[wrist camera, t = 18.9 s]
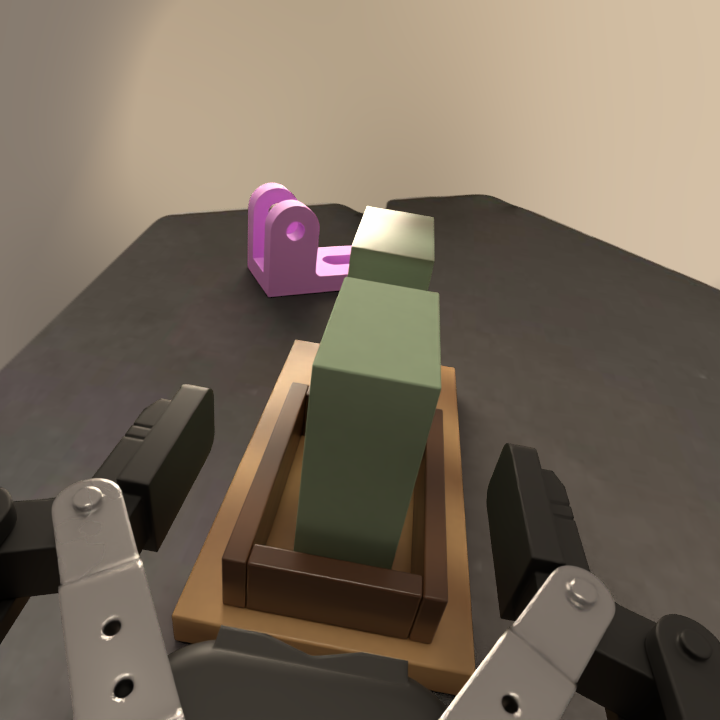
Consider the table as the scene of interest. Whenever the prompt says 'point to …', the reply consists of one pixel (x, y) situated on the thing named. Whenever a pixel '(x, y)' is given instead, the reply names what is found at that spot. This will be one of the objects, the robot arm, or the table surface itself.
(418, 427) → the green rectangular block
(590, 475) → the table surface
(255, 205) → the bracket
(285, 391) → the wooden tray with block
